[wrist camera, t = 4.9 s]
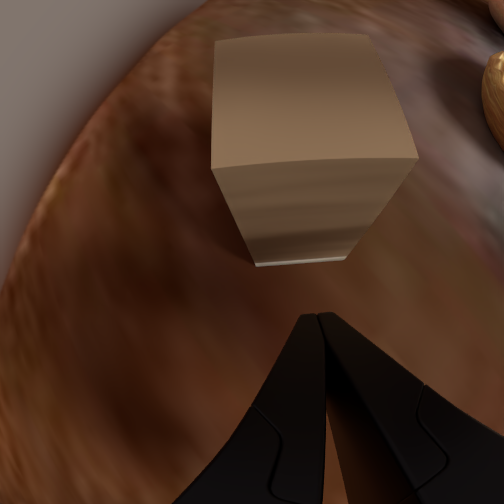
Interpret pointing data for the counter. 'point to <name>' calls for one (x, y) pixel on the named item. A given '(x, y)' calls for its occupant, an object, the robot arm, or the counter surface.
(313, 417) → the robot arm
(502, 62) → the pastry
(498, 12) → the ceramic jug
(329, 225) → the block
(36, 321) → the counter surface
